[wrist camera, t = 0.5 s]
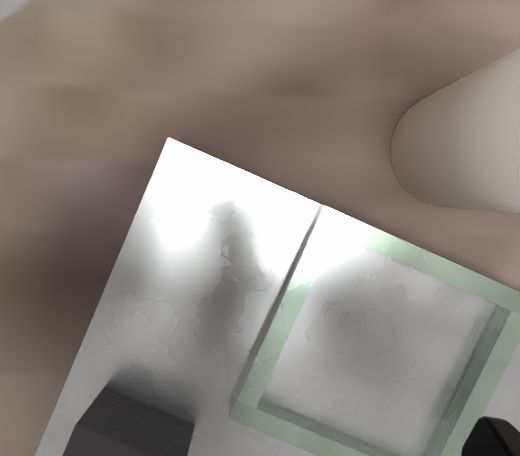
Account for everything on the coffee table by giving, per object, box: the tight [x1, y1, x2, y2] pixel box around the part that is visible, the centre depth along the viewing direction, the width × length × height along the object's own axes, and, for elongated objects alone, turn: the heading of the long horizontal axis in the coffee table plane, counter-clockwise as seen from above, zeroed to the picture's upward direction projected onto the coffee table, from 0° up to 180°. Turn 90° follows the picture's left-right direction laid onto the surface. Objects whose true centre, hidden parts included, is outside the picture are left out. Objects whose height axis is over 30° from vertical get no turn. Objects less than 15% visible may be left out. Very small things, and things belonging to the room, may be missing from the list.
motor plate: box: [35, 137, 520, 456], centre depth 19 cm, size 16×22×6 cm
